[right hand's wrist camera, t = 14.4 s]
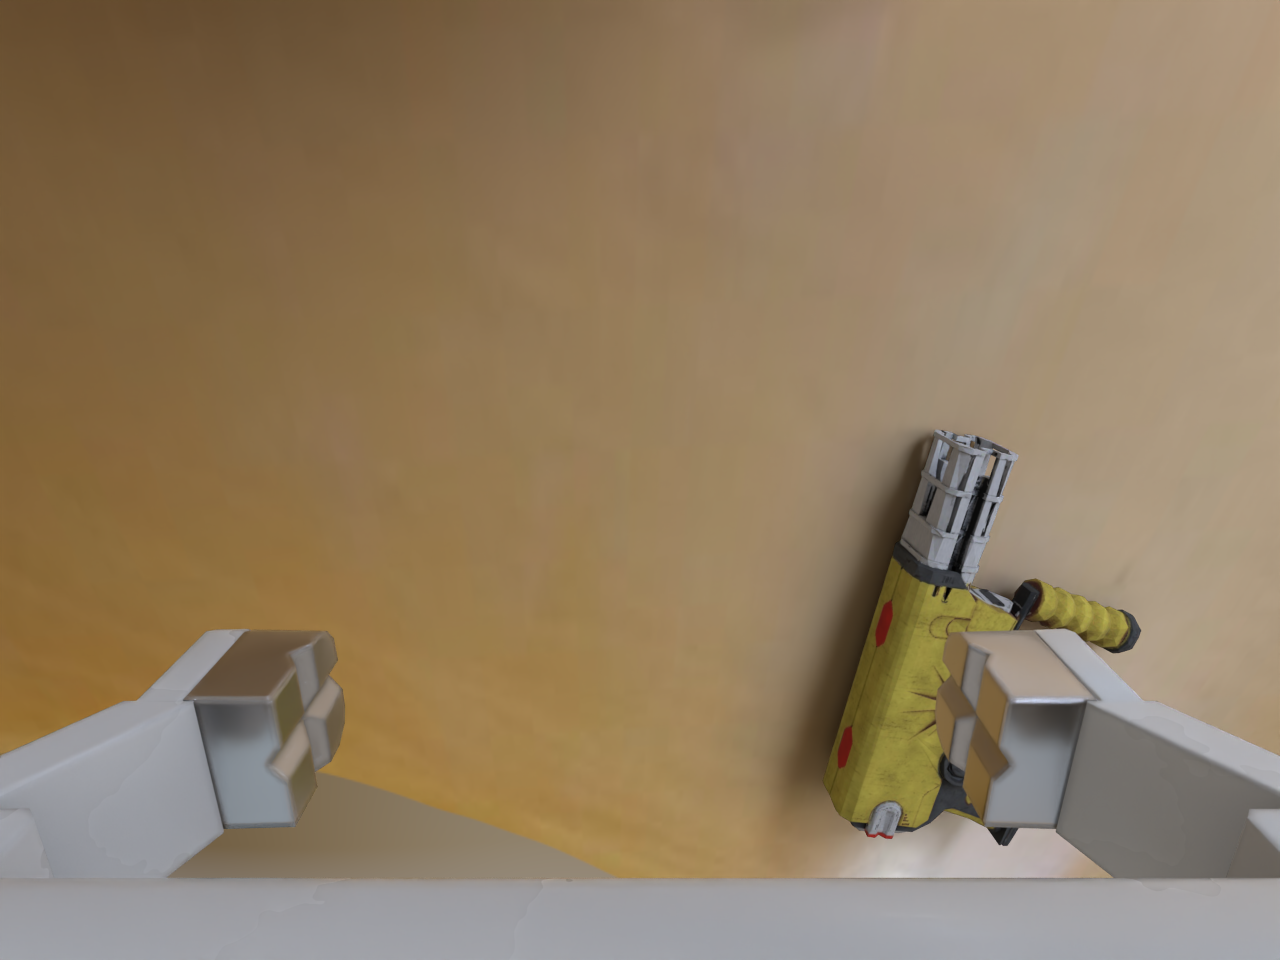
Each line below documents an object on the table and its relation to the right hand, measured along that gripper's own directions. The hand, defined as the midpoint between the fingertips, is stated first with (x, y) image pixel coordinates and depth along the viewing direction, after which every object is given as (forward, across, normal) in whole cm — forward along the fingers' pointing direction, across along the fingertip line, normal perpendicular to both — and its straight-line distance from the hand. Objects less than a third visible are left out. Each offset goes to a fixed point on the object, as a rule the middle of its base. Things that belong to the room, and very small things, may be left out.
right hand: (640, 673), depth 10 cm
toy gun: (+32, +21, -19) cm, 42 cm away
